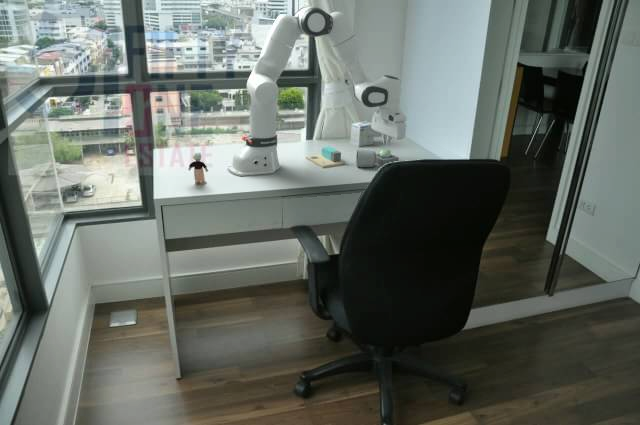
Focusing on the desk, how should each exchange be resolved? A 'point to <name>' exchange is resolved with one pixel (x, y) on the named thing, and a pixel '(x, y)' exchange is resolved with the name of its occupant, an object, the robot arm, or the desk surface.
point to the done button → (385, 153)
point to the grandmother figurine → (198, 169)
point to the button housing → (382, 161)
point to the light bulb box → (362, 134)
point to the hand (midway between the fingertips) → (386, 144)
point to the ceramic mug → (365, 158)
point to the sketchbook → (323, 161)
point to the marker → (331, 154)
